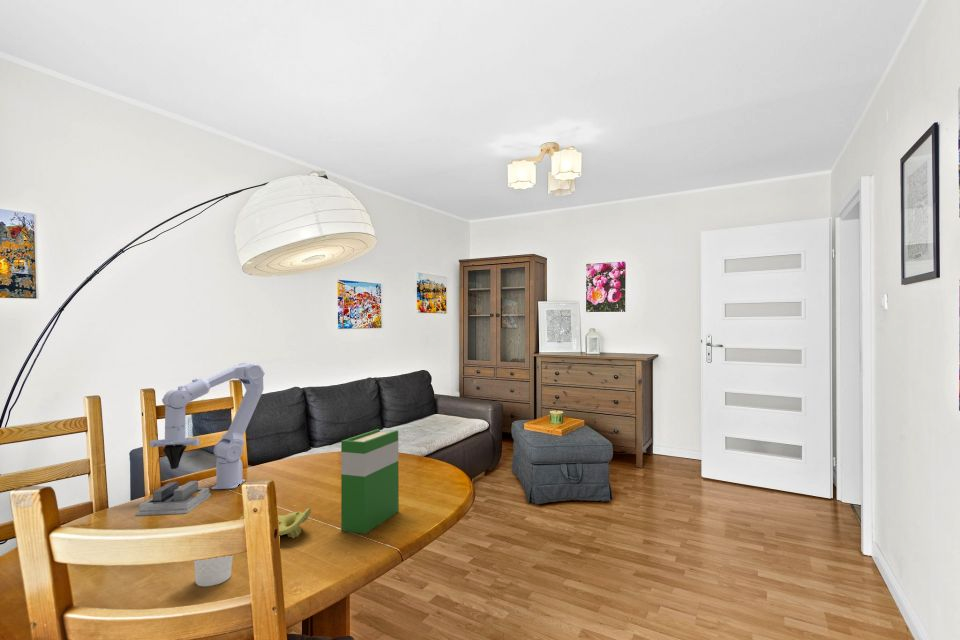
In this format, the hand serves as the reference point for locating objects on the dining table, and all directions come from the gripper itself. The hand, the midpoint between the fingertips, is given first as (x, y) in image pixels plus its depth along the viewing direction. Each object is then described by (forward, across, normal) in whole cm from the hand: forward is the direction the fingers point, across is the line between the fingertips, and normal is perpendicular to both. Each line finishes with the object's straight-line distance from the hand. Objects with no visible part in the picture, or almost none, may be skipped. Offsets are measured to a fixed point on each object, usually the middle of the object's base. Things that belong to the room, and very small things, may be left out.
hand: (174, 468), depth 158 cm
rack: (+10, +4, -7) cm, 13 cm away
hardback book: (+10, +67, -28) cm, 73 cm away
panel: (+9, +7, -7) cm, 13 cm away
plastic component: (+10, +42, -35) cm, 56 cm away
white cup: (+10, +37, -58) cm, 70 cm away
